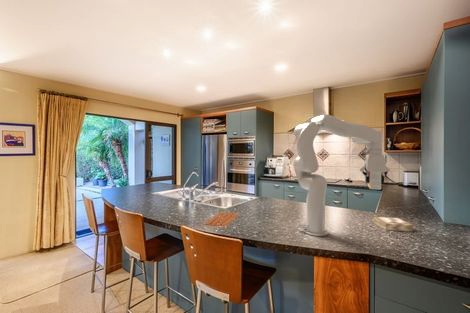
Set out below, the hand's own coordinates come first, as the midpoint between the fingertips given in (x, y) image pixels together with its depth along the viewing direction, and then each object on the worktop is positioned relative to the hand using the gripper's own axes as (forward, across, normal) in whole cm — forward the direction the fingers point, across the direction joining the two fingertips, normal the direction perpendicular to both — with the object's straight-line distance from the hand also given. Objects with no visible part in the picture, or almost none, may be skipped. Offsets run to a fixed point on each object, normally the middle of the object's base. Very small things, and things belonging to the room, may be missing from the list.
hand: (374, 182), depth 129 cm
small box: (+4, 0, 0) cm, 4 cm away
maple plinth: (+26, +11, +3) cm, 28 cm away
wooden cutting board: (+26, -91, +3) cm, 95 cm away
